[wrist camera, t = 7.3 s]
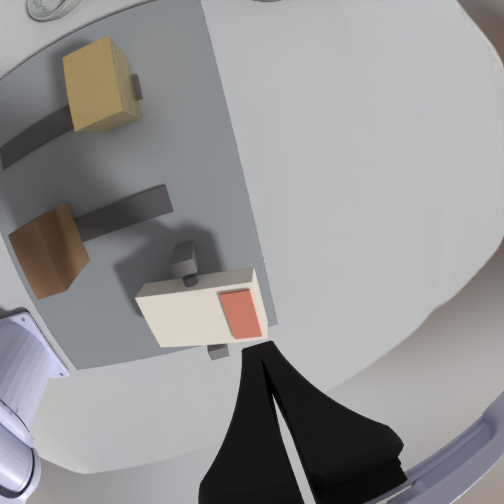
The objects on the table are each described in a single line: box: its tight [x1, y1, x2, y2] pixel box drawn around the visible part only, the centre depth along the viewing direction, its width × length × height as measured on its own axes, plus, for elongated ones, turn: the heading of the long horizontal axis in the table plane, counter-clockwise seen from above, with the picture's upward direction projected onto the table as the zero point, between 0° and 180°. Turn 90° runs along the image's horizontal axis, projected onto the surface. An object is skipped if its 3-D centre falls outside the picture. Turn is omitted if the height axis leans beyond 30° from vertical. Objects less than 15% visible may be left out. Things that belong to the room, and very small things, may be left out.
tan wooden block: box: [63, 36, 142, 133], centre depth 10 cm, size 2×4×4 cm, turn 13°
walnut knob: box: [8, 202, 90, 300], centre depth 13 cm, size 2×4×4 cm, turn 13°
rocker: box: [135, 267, 268, 347], centre depth 16 cm, size 7×5×2 cm
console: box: [0, 0, 278, 370], centre depth 14 cm, size 18×24×5 cm
